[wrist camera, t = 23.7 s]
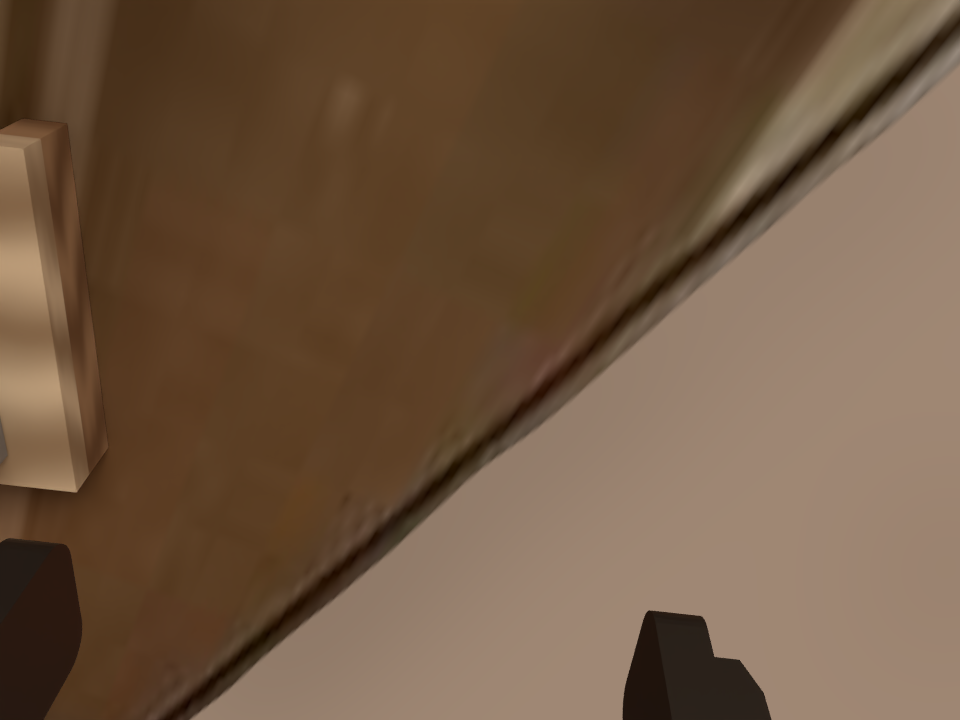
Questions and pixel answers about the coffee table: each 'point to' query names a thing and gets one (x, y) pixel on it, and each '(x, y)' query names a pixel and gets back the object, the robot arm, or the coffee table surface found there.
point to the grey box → (2, 445)
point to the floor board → (45, 316)
